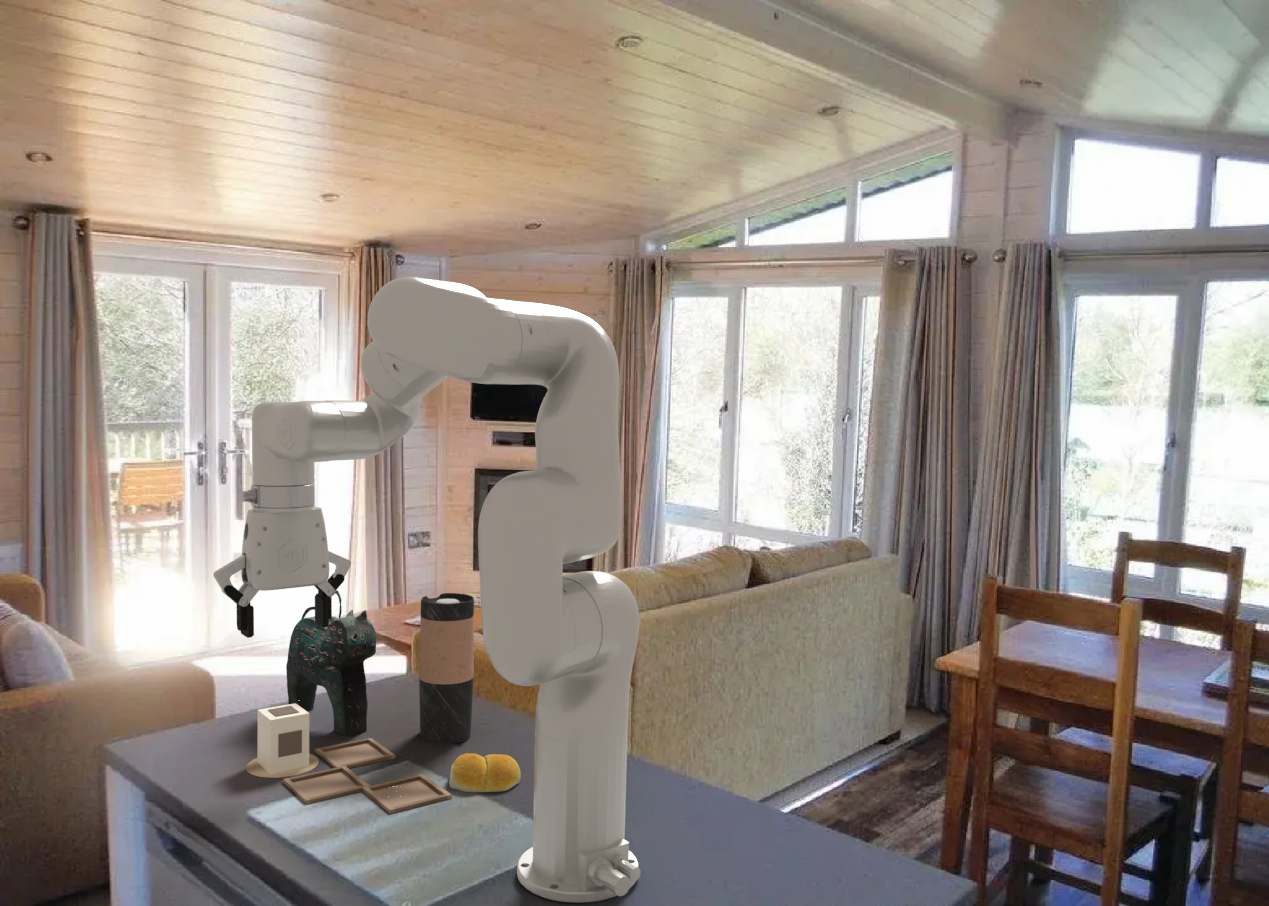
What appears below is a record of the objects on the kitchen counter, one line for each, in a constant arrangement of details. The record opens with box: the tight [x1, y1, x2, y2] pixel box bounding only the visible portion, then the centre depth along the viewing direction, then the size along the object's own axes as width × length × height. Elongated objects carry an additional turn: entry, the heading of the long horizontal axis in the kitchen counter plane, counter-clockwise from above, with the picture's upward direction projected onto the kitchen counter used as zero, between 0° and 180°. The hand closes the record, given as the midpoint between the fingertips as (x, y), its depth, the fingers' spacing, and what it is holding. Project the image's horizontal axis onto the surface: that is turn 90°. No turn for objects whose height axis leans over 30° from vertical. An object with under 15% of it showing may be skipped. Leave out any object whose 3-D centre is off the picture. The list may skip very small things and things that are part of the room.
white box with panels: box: [256, 703, 310, 774], centre depth 133 cm, size 5×5×7 cm
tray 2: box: [282, 766, 371, 805], centre depth 127 cm, size 8×8×1 cm
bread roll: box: [448, 752, 522, 793], centre depth 130 cm, size 8×9×4 cm
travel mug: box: [418, 592, 475, 745], centre depth 146 cm, size 8×8×20 cm
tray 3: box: [362, 773, 453, 814], centre depth 125 cm, size 8×8×1 cm
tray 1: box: [314, 737, 397, 769], centre depth 138 cm, size 8×8×1 cm
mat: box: [245, 753, 320, 779], centre depth 134 cm, size 9×9×1 cm
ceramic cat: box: [285, 589, 377, 737], centre depth 151 cm, size 20×6×20 cm, turn 45°
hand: (285, 630), depth 132 cm, fingers open, 9 cm apart
